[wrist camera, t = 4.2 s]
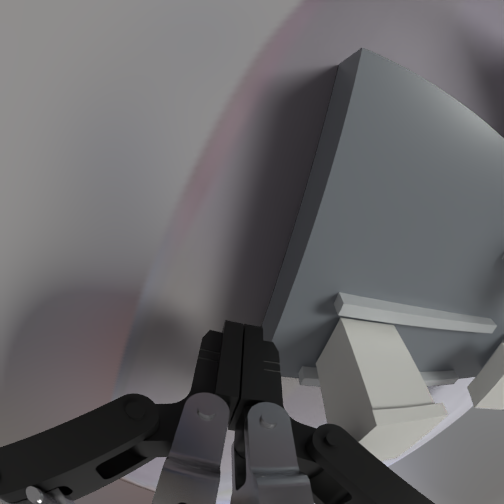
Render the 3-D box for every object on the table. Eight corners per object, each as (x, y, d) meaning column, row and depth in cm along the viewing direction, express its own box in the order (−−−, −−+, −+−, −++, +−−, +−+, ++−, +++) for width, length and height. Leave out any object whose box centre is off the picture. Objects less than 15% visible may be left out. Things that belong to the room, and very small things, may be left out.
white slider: (338, 313, 11) (376, 425, 6) (398, 322, 11) (448, 414, 6) (310, 365, 13) (327, 467, 7) (367, 369, 13) (396, 458, 8)
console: (339, 64, 10) (393, 27, 5) (556, 217, 12) (594, 241, 7) (258, 335, 16) (258, 413, 11) (489, 352, 18) (513, 389, 13)
